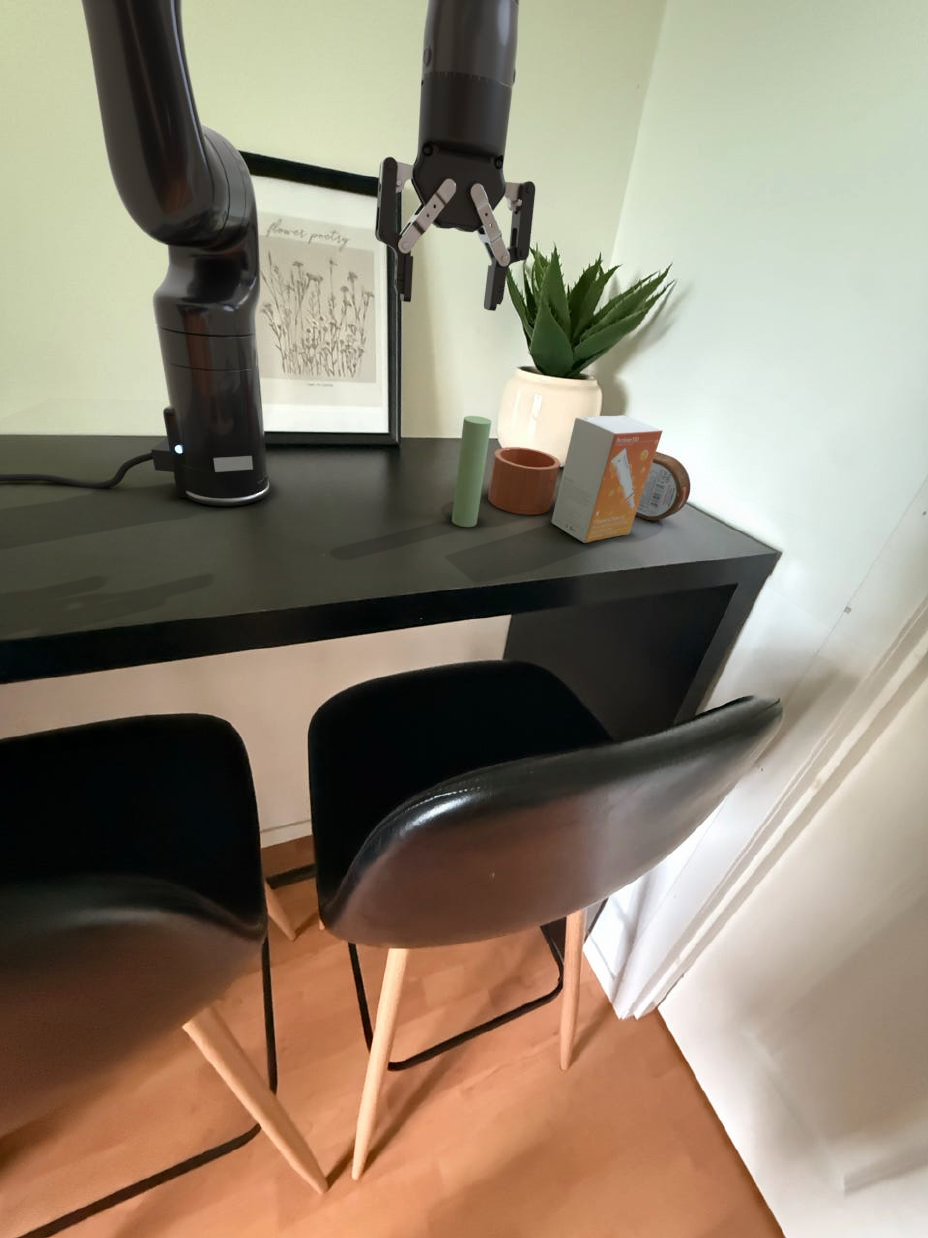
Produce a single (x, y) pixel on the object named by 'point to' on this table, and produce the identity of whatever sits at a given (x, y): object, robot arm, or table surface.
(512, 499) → the holder
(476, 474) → the candle
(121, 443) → the table surface
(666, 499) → the tin
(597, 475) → the small box
